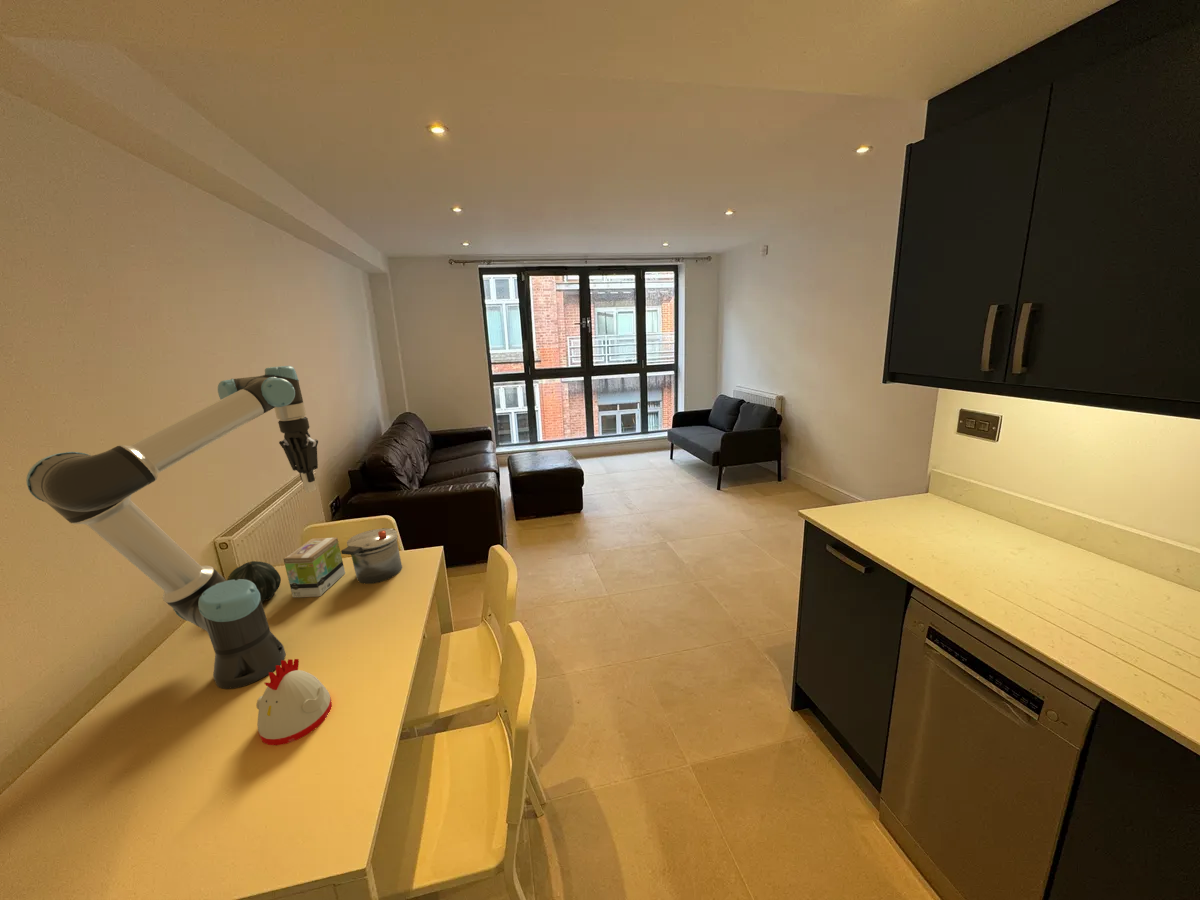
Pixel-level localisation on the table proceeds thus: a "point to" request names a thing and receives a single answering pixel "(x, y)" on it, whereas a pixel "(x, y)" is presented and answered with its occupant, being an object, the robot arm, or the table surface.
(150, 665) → the table surface
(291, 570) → the tea box
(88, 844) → the table surface
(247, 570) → the squash
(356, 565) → the pot
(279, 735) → the kitchen timer
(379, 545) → the lid
